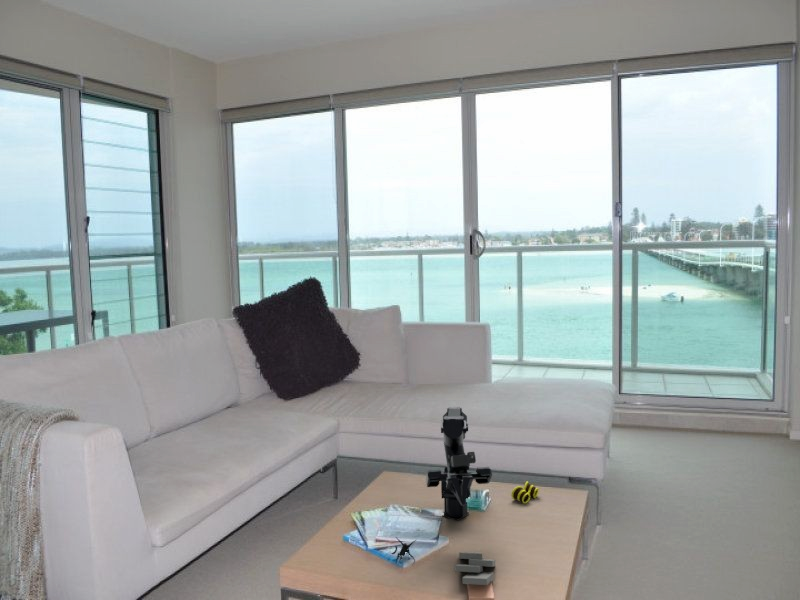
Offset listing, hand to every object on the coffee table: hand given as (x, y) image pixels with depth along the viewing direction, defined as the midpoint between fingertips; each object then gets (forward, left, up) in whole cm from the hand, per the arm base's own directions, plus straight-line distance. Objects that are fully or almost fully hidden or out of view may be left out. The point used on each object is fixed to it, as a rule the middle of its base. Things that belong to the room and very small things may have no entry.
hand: (463, 505), depth 185 cm
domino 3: (+10, -11, -11) cm, 18 cm away
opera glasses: (-2, +41, -12) cm, 42 cm away
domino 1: (+6, -5, -11) cm, 14 cm away
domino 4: (+14, -13, -10) cm, 22 cm away
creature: (-8, -17, -12) cm, 23 cm away
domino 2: (+11, -7, -11) cm, 17 cm away
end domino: (+15, -15, -11) cm, 24 cm away
